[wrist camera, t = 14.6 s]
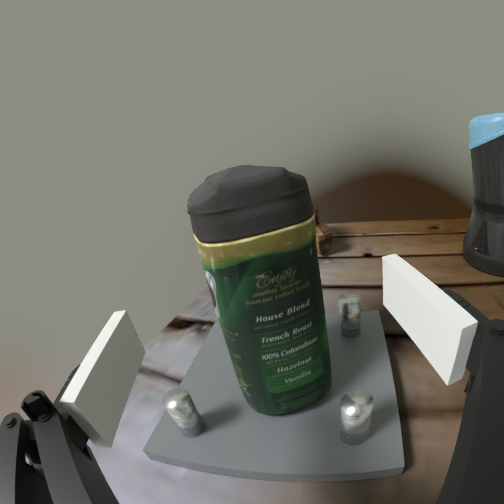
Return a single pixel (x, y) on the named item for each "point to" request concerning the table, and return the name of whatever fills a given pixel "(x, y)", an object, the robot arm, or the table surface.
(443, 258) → the table surface
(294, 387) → the coffee jar
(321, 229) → the wooden carving
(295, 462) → the base plate
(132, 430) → the table surface
